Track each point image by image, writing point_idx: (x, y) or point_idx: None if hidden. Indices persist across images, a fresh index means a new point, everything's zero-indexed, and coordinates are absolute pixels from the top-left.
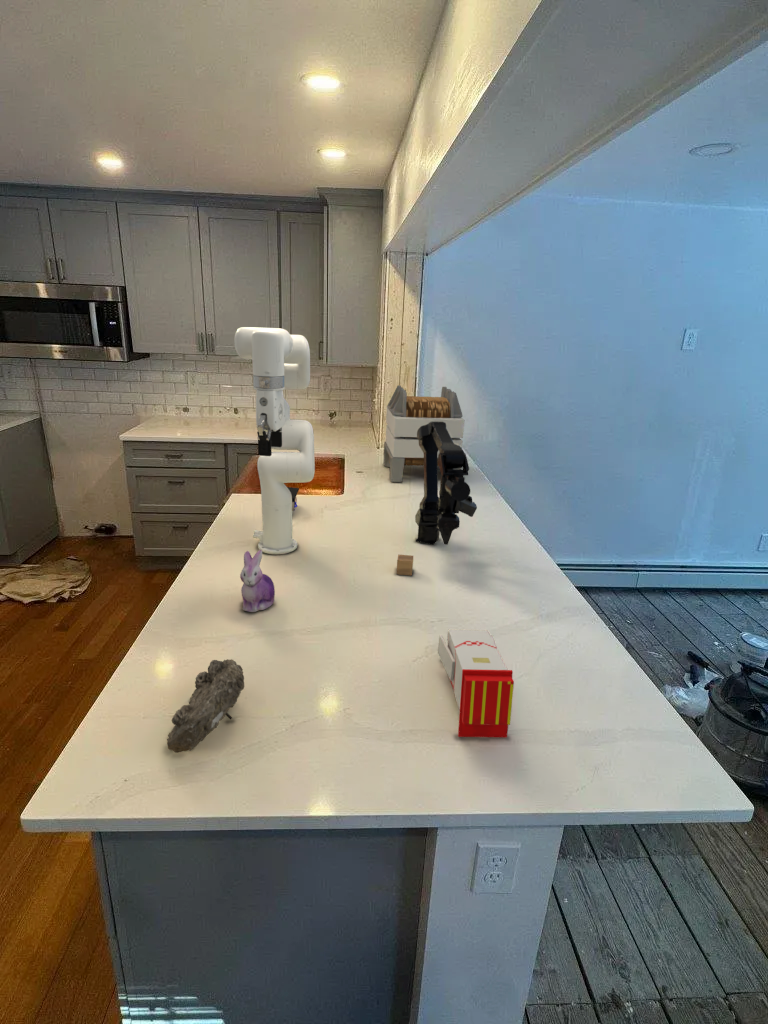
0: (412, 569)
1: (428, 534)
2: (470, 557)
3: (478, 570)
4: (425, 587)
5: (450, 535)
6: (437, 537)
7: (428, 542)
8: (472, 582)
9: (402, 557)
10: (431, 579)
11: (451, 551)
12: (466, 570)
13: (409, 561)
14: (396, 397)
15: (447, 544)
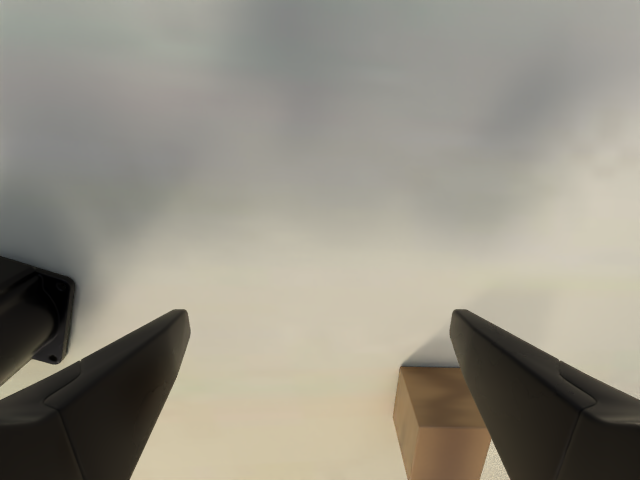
0: (421, 373)
1: (18, 338)
2: (176, 53)
3: (377, 12)
4: (579, 315)
5: (569, 369)
6: (3, 274)
7: (59, 306)
8: (548, 73)
9: (447, 469)
10: (499, 290)
11: (121, 178)
12: (384, 99)
13: (490, 439)
14: None
15: (466, 311)
